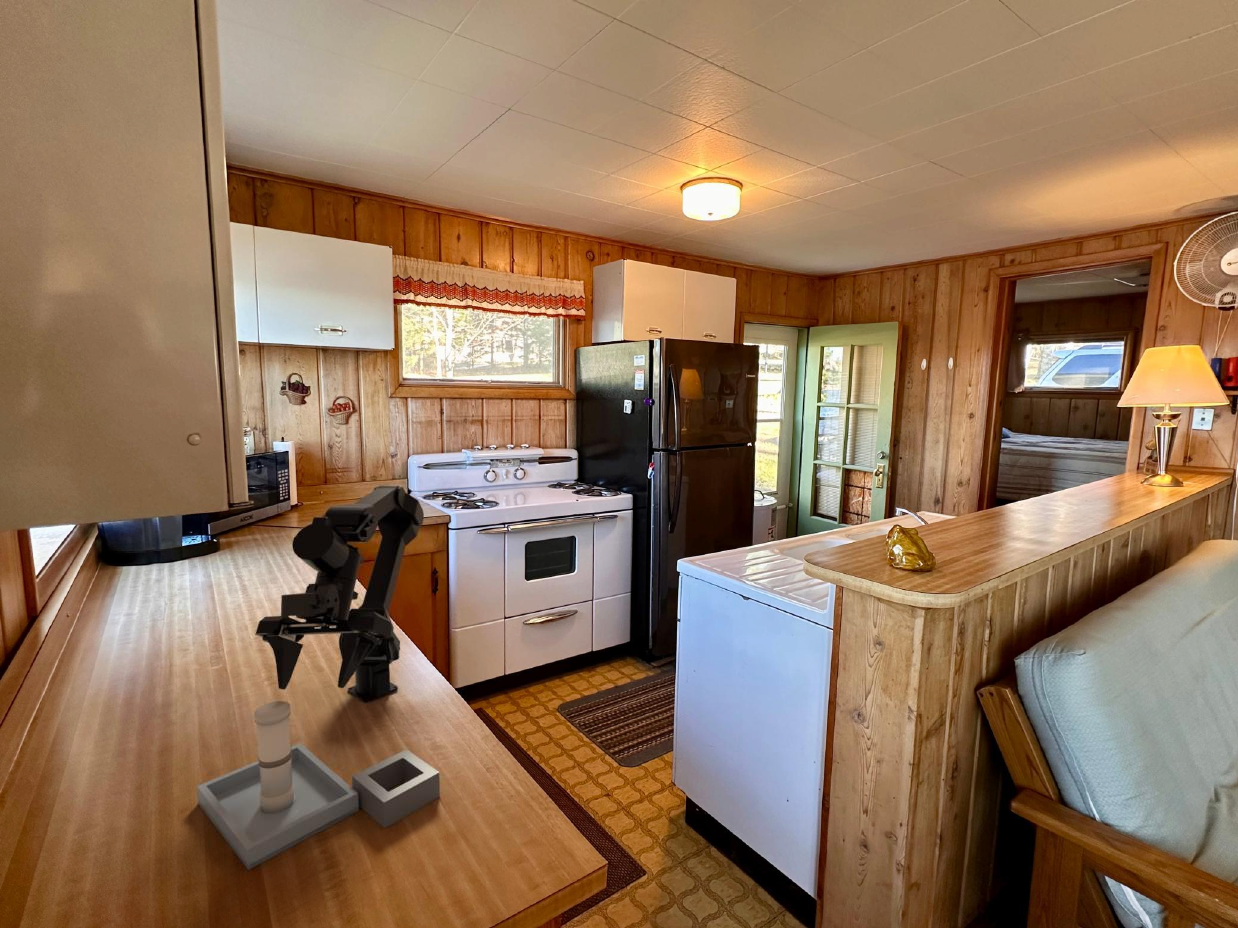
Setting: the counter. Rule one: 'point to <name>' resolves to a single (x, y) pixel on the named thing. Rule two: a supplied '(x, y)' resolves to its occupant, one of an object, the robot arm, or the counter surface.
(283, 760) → the beige banded cylinder
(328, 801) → the parts tray
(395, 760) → the holder
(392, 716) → the counter surface
